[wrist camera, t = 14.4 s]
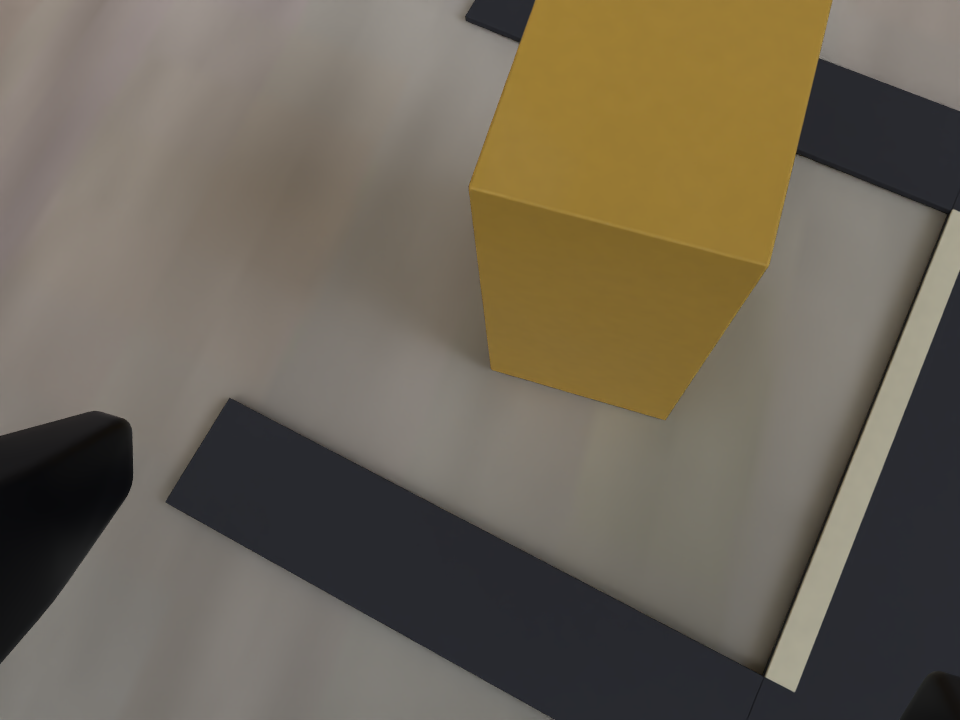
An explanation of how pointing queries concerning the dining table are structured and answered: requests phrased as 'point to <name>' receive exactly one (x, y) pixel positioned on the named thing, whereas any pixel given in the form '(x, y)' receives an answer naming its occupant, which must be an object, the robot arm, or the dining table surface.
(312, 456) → the bay mat
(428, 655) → the dining table surface
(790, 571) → the dining table surface
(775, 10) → the mustard block
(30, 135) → the dining table surface
